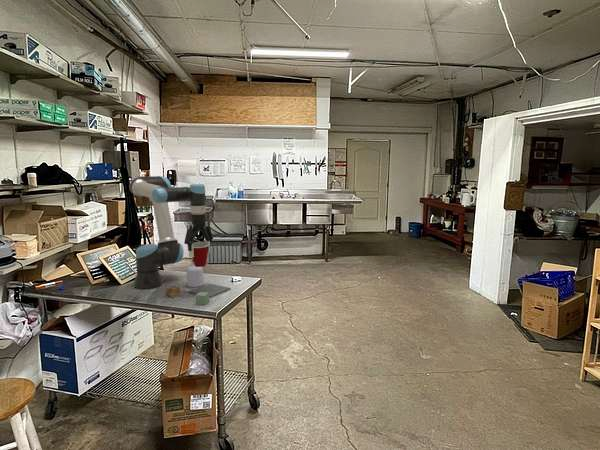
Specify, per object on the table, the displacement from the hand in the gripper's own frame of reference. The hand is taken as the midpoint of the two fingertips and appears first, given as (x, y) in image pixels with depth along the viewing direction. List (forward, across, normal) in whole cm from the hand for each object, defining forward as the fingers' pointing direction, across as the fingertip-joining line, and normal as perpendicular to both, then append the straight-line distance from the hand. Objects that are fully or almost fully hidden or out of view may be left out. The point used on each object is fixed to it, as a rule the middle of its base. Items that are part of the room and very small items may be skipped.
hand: (199, 254), depth 196 cm
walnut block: (+22, -10, +11) cm, 26 cm away
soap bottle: (+22, +10, +15) cm, 29 cm away
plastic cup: (+6, 0, 0) cm, 6 cm away
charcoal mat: (+22, +7, 0) cm, 23 cm away
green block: (+22, -9, -10) cm, 26 cm away
